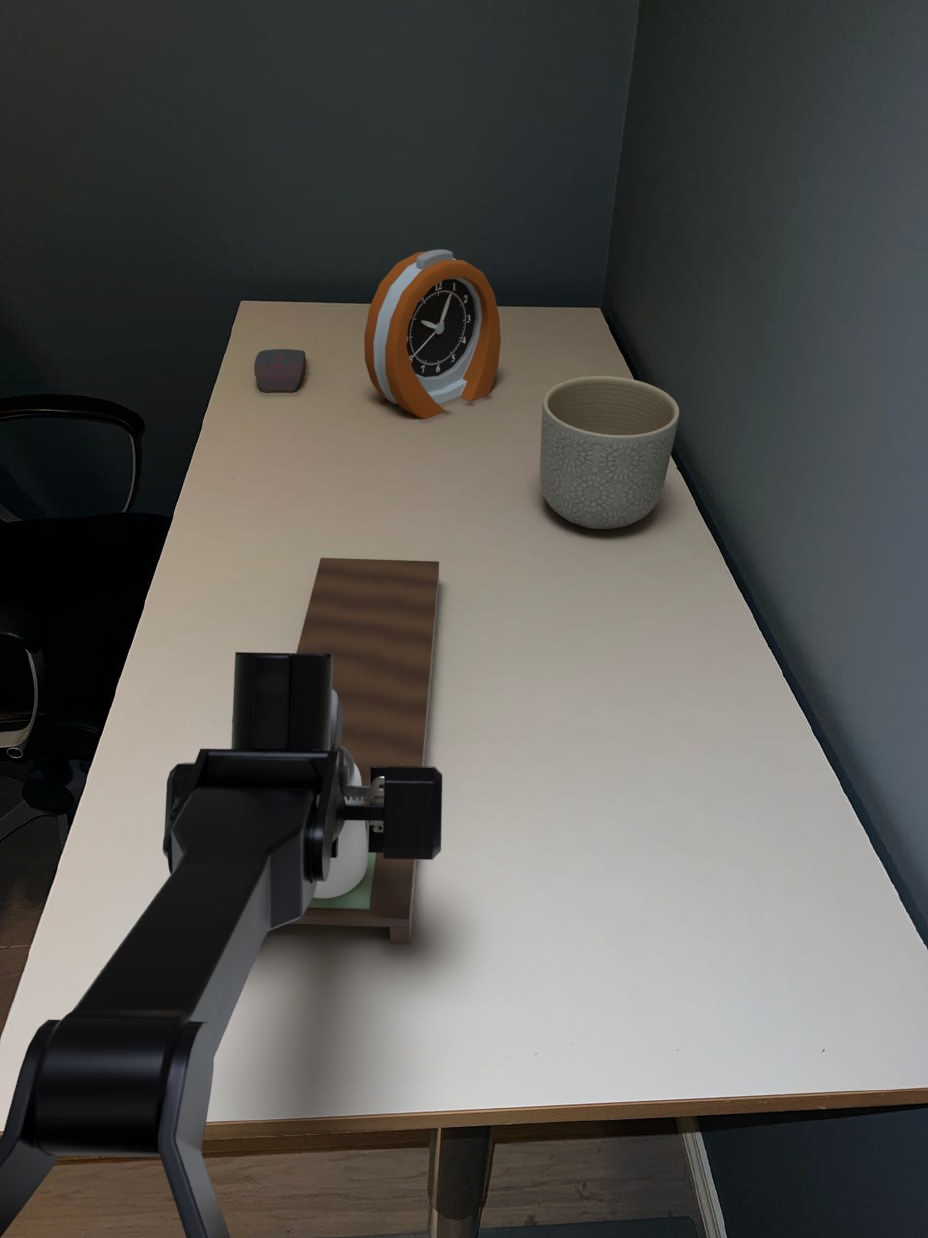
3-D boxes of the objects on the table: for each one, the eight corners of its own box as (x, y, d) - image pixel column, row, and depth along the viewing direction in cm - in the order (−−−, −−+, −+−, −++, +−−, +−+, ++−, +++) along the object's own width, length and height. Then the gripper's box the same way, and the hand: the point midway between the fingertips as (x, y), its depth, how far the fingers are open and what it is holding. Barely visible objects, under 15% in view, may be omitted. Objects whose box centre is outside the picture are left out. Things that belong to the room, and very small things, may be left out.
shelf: (410, 944, 74) (409, 918, 71) (235, 938, 74) (229, 911, 72) (439, 584, 111) (439, 559, 108) (322, 581, 111) (320, 556, 109)
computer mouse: (253, 392, 150) (250, 369, 147) (263, 357, 160) (260, 335, 158) (303, 392, 150) (301, 369, 148) (310, 357, 161) (308, 335, 158)
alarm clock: (404, 427, 142) (400, 278, 127) (365, 404, 147) (357, 259, 133) (508, 386, 153) (515, 246, 139) (468, 367, 159) (471, 230, 145)
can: (378, 887, 74) (371, 788, 66) (298, 912, 72) (281, 813, 64) (355, 826, 78) (346, 727, 71) (280, 848, 76) (262, 748, 69)
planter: (591, 464, 134) (604, 364, 124) (686, 512, 124) (707, 407, 115) (508, 505, 125) (514, 400, 115) (603, 560, 115) (619, 451, 106)
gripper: (442, 693, 57) (445, 697, 73) (141, 688, 57) (208, 693, 73) (439, 876, 56) (442, 841, 72) (131, 872, 56) (201, 837, 71)
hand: (323, 799), depth 72 cm, fingers open, 7 cm apart
